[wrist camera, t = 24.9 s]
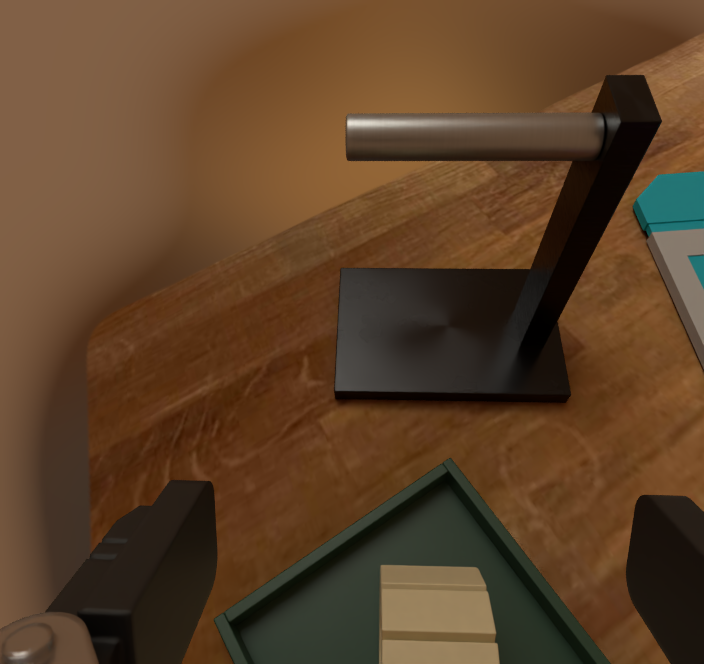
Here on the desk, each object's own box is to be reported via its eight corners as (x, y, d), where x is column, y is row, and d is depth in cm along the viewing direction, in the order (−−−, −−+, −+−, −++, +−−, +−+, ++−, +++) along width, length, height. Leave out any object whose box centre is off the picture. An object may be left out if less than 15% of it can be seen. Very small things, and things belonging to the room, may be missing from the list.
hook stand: (334, 399, 37) (307, 184, 21) (341, 277, 42) (323, 30, 26) (565, 403, 37) (721, 184, 20) (543, 279, 42) (653, 26, 26)
